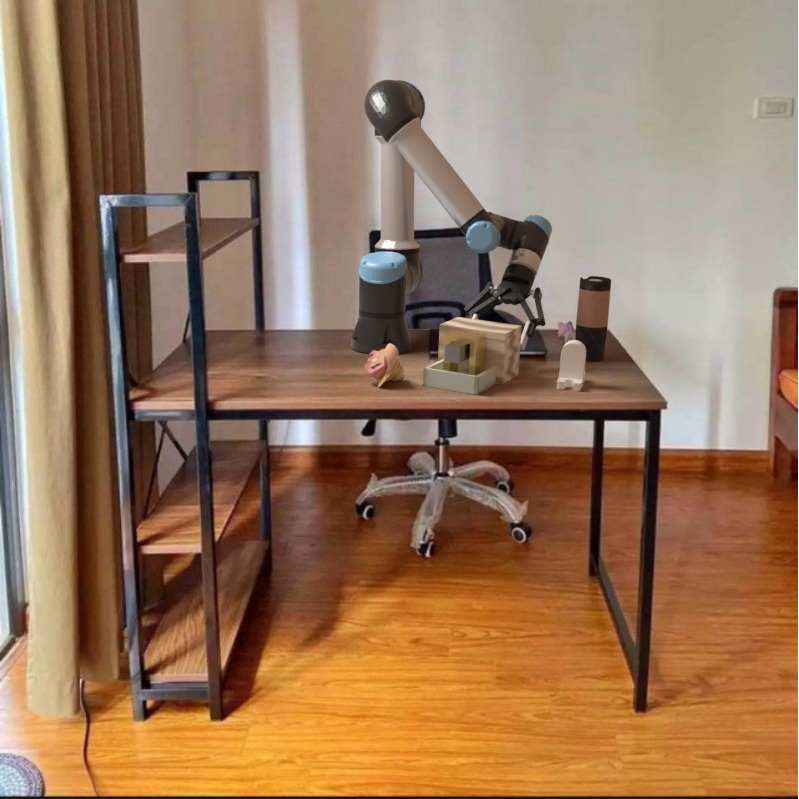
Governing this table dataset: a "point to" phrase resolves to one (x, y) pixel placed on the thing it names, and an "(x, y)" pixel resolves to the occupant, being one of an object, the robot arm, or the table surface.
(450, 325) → the light wood block
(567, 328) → the rabbit figure
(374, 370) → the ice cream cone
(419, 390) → the table surface
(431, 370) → the tray
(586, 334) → the travel mug
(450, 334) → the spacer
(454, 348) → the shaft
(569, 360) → the white phone stand
